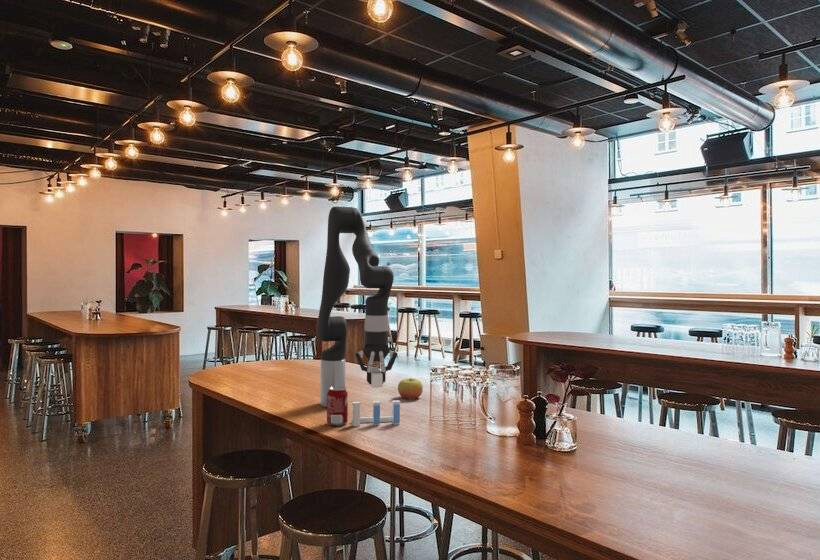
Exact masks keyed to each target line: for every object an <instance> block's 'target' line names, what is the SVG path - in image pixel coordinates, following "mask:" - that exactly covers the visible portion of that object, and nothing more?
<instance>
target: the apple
mask: <svg viewBox="0 0 820 560" xmlns="http://www.w3.org/2000/svg"><path fill="white" fill-rule="evenodd" d="M423 387H424V386H423V383H422V381H421V380H419V379H416V378H403V379H401V380H400V381H399V382H398V384H397V392H398V393H399V395H400V396H401V398H403V399H406V400H416V399H418V398H419V397H421V395H422V394H423V389H424V388H423Z"/></svg>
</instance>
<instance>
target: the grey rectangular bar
mask: <svg viewBox="0 0 820 560" xmlns="http://www.w3.org/2000/svg"><path fill="white" fill-rule="evenodd" d="M383 385H384V382H383V374H382V373H381V369H380V368H379V367H378V366H372V368H371V384H370V386H371V388H383Z"/></svg>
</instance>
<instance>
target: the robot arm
mask: <svg viewBox="0 0 820 560" xmlns="http://www.w3.org/2000/svg"><path fill="white" fill-rule="evenodd" d="M327 219H328V220H327V235H326V236H327V239H326V240H327V241H326V244H327V245H326V253H325V254H326V256H325V263H324V270H323V277H322V278H323V281H322V290H321V291H322V292H321V301H320V306H319V311H318V312H319V313H318V316H317V322H316V323H317V324H316V337H317V340H318V341H319V342H334V344H333V345H331V346H330V347H329V348H327V349H324V350H322V351H321V352H320V406H322V407H324V408H327V393H328V391H329V388H330V387H334V386H343V387H346V354H347V338H348V323H347V319H346V318H345V317H344V316H342V315H339V316H337V315H336V316H335V315H334V316H331V314H332V310H333V308H334V306H335V305H336V304H337V302H338V301H339V300H340V298H341V297H343V295H344V293H345V292H346V291H347V289H348V287H349V282H350V276H351V275H350V273H351V272H350V271H351V268H350V265H349V262H348V260H347V258H346V257H345V254H344V252H343V251H342V248H341V245H340V234H353V235H355V239H354V240H353V243H352V248H351V249H352V250H351V251H352V255H353V258H354V259H355V262H356V263H357V265H358V270H359V281H360V282H359V283H361V285H362V286H363V287H364V288H365V289H378V291H377V293H376V294H372V295H370V296H367V297H366V298H365V309H364V310H365V311H364V312H365V314H364V315H365V317H364V326H363V327H364V332H363V333H364V336H363V337H364V340H363V342H364V345H363V348H362V350H360V351H356V352H354V355H355V358H356V360H357V362H358V365H359V367H360V369H361V371H362V372H363V371H364V372H366V382H367V383H368V385H371V368H372V367H373V364H374V362H375V363H376V362H379V365H380V371H381V373H382V374H383V383H385V382H386V378H387V377H386V375H387V374H386V372H388V371H392V368H393V366H394V364H395V361H396V359H397V356H398V353H397V352H396V351H393V350H391V349H390V346H389V327H390V326H389V317H388V315H389V314H388V312H389V311H388V309H389V299H390V296H391V290H392V287H393V285H394V280H395V277H394V272H393V270H392V269H391V267H389V266H387V265H379V264H380V258H379V256H378V254H377V252H376V251H375V248H374V246H373V245H372V242H371V241H370V238H369V234H368V231H367V228H366V227H367V226H366V224H365V222H364V218H363V216H362V213H361V211H360V210H359V209H358V208H356V207H353V206H332V207H331V208H330V210H329V213H328V217H327ZM364 356H365V357H366V359H367V364H366V366H365V364H364V361H363V360H362V358H363V357H364ZM387 356H389V360H388V362H387V365H386V364H385V359H386V357H387Z"/></svg>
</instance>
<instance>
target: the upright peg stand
mask: <svg viewBox="0 0 820 560" xmlns="http://www.w3.org/2000/svg"><path fill="white" fill-rule="evenodd" d="M351 403H352V418H351V419H352V420H351V424H352V426H353V427H360V424H361V423H362V424H364V423H367V422H368V423H372V426H376V425H377V426H380V424H381V423H386V422H387V423H389V422H392V425H394V426H396V425H397V426H398V425H400V421H401V418H400V417H401V416H400V415H401V413H400V412H401V401H400V400H398V399H397V400H392V401H391V403H392V415H391V416H390V415H389V416H381V409H380V408H381V404H382V403H381V401H380V400H373V401H372V416H368V417H367V416H366V417H364V416H363V417H360V416H361V415H360V414H361V413H360V412H361V404H362V403H361V401H352V402H351ZM377 426H376V427H377Z"/></svg>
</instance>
